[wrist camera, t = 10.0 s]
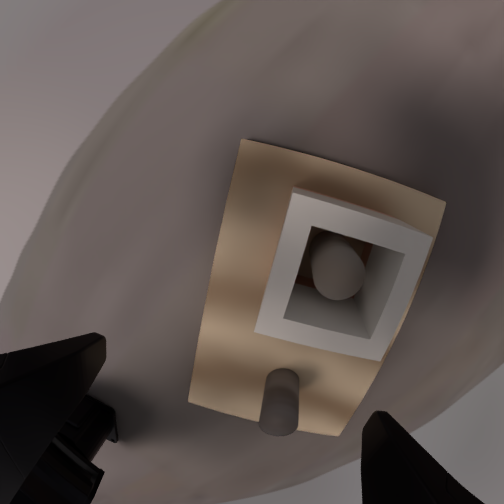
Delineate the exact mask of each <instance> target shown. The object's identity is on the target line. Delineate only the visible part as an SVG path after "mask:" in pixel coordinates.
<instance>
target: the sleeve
mask: <svg viewBox="0 0 504 504" xmlns="http://www.w3.org/2000/svg"><path fill="white" fill-rule="evenodd" d="M311 226H315V227H318V228H322V229H325V230H328V231H332V232H335V233H339V234H342V235H346V236H349V237H352V238H356V239H359V240H362V241H365V242H366V243H365V246H364V249H363V252H362V255H361V258H360V259H361V260H362V262H363V264H364V267H365V280H364V283H363V285H362V287H361V288H360V290H359V291H358V292H357V293H356V294H354V295H353V296H351V297H349V298H347V299H343V300H332V299H329V298H326V297H325V296H323V295H322V294H321V293H320V292H319V291H318V290H317V288H316V286H315V284H314V280H313V279H311V278H307V277H304V276H300V275H297V273H298V270H299V266H300V263H301V260H302V257H303V253H304V250H305V247H306V243H307V240H308V236H309V233H310V230H311ZM432 239H433V237H431V236H430V235H428V234H426V233H424V232H422V231H420V230H418V229H416V228H414V227H413V226H411V225H409V224H407V223H405V222H403V221H401V220H399V219H397V218H395V217H393V216H391V215H388V214H385V213H382V212H379V211H376V210H373V209H370V208H367V207H364V206H361V205H357V204H354V203H351V202H348V201H345V200H341V199H338V198H335V197H331V196H328V195H325V194H321V193H318V192H314V191H311V190H307V189H304V188H300V187H296V186H293V188H292V192H291V196H290V200H289V203H288V207H287V211H286V215H285V218H284V222H283V226H282V229H281V233H280V237H279V240H278V244H277V248H276V251H275V255H274V258H273V262H272V266H271V269H270V273H269V276H268V280H267V284H266V287H265V291H264V295H263V299H262V303H261V307H260V310H259V314H258V318H257V322H256V325H255V329H254V332H256V333H259V334H263V335H267V336H270V337H274V338H278V339H282V340H286V341H290V342H294V343H298V344H302V345H306V346H310V347H314V348H319V349H323V350H327V351H332V352H336V353H341V354H345V355H350V356H355V357H360V358H365V359H370V360H375V361H381V359H382V357H383V356H384V354H385V352H386V350H387V348H388V346H389V344H390V342H391V340H392V338H393V336H394V334H395V331H396V329H397V327H398V325H399V323H400V321H401V319H402V316H403V314H404V312H405V310H406V307H407V305H408V303H409V300H410V298H411V296H412V293H413V291H414V288H415V286H416V283H417V281H418V278H419V276H420V273H421V271H422V268H423V265H424V262H425V260H426V257H427V254H428V251H429V248H430V245H431V242H432Z"/></svg>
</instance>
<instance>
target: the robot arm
mask: <svg viewBox="0 0 504 504" xmlns="http://www.w3.org/2000/svg"><path fill="white" fill-rule="evenodd" d="M105 360H106V338H105V337H104V336H103V335H100V334H98V333H95V332H93V333H89V334H85V335H81V336H77V337H73V338H69V339H65V340H61V341H57V342H52V343H48V344H44V345H40V346H35V347H31V348H27V349H22V350H18V351H13V352H9V353H8V354H7V353H4V354H0V504H90V503H91V502H92V500H93V498H94V496H95V494H96V491H97V489H98V487H99V484H100V482H101V480H102V477H103V475H104V473H105V472H104V471H103V470H102V469H99V468H98V467H97V466H95V465H94V464H93V463H91V461H92V460H93V458H94V457H95V455H96V454H97V452H98V451H99V449H100V448H101V446H102V445H103V443H104V442H105V440H106V439H107V440H109V441H111V442H113V443H117V441H118V436H117V428H116V419H115V412H114V410H113V409H112V408H110V407H108V406H106V405H104V404H102V403H100V402H98V401H96V400H94V399H92V398H90V397H88V396H86V393H87V392H88V390H89V388H90V386H91V385H92V383H93V381H94V380H95V378H96V376H97V374H98V373H99V371H100V369H101V368H102V366H103V364H104V363H105ZM361 482H362V504H484V503H483V502H482V501H480V500H479V499H478V498H477V497H475V496H474V495H473V494H471V493H470V492H469V491H468V490H467V489H465V488H464V487H463V486H462V485H461V484H460V483H458V481H457V480H455V479H454V478H453V477H452V476H451V475H450V474H449V473H447V471H446V470H445V469H444V468H443V467H442V466H441V465H440V464H439V463H438V462H437V461H436V460H435V459H434V458H433V457H432V456H431V455H430V454H429V453H428V452H427V451H426V450H425V449H424V448H423V447H422V446H421V445H420V444H419V443H418V442H417V441H416V440H415V439H414V438H413V437H412V436H411V435H410V434H409V433H408V432H407V431H406V430H405V429H404V428H403V427H402V426H401V425H400V424H399V423H398V422H397V421H396V420H395V419H394V418H393V417H392V416H391V415H390V414H389V413H388V412H386V411H375V412H374V413H373V414H372V415H371V417H370V418H369V420H368V421H367V423H366V424H365V426H364V428H363V431H362V453H361Z"/></svg>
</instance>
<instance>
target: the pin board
mask: <svg viewBox="0 0 504 504" xmlns="http://www.w3.org/2000/svg"><path fill="white" fill-rule="evenodd" d="M293 186H296V187H300V188H304V189H307V190H311V191H314V192H318V193H321V194H325V195H328V196H331V197H335V198H338V199H341V200H345V201H348V202H351V203H354V204H357V205H361V206H364V207H367V208H370V209H373V210H376V211H379V212H382V213H385V214H388V215H391V216H393V217H395V218H397V219H399V220H401V221H403V222H405V223H407V224H409V225H411V226H413V227H414V228H416V229H418V230H420V231H422V232H424V233H426V234H428V235H430V236H431V237H433V239H432V242H431V245H430V248H429V251H428V254H427V257H426V260H425V262H424V265H423V268H422V271H421V273H420V276H419V278H418V281H417V283H416V286H415V288H414V291H413V293H412V296H411V298H410V300H409V303H408V305H407V307H406V310H405V312H404V314H403V316H402V319H401V321H400V323H399V325H398V327H397V329H396V331H395V334H394V336H393V338H392V340H391V342H390V344H389V346H388V348H387V350H386V352H385V354H384V356H383V357H382V359H381V361H375V360H370V359H365V358H360V357H355V356H350V355H345V354H341V353H336V352H332V351H327V350H323V349H319V348H314V347H310V346H306V345H302V344H298V343H294V342H290V341H286V340H282V339H278V338H274V337H270V336H267V335H263V334H259V333H256V332H254V329H255V325H256V322H257V318H258V314H259V310H260V307H261V303H262V299H263V295H264V291H265V287H266V284H267V280H268V276H269V273H270V269H271V266H272V262H273V258H274V255H275V251H276V248H277V244H278V240H279V237H280V233H281V229H282V226H283V222H284V218H285V215H286V211H287V207H288V203H289V200H290V196H291V192H292V188H293ZM446 203H447V202H445V201H442V200H440V199H438V198H435V197H433V196H430V195H428V194H425V193H423V192H420V191H418V190H415V189H412V188H410V187H407V186H404V185H402V184H399V183H396V182H394V181H391V180H388V179H385V178H382V177H379V176H376V175H374V174H371V173H368V172H365V171H361V170H358V169H355V168H352V167H349V166H346V165H342V164H339V163H336V162H333V161H329V160H326V159H322V158H319V157H315V156H312V155H308V154H304V153H300V152H297V151H293V150H289V149H285V148H281V147H277V146H273V145H268V144H264V143H260V142H255V141H251V140H246V139H241V142H240V146H239V151H238V155H237V159H236V163H235V167H234V172H233V176H232V180H231V184H230V189H229V193H228V198H227V202H226V206H225V211H224V215H223V220H222V225H221V229H220V234H219V238H218V243H217V248H216V253H215V257H214V262H213V267H212V272H211V277H210V282H209V287H208V292H207V297H206V302H205V307H204V312H203V318H202V323H201V328H200V334H199V339H198V345H197V350H196V356H195V362H194V367H193V373H192V379H191V385H190V391H189V397H188V402H190V403H193V404H196V405H199V406H203V407H206V408H209V409H212V410H216V411H219V412H223V413H226V414H230V415H233V416H237V417H241V418H245V419H249V420H253V421H257V422H259V427H260V428H261V430H262V431H264V432H265V433H267V434H270V435H273V436H285V435H289V434H291V433H293V432H294V431H295V430H300V431H306V432H312V433H318V434H325V435H332V436H339V435H340V433H341V432H342V430H343V429H344V427H345V426H346V424H347V423H348V421H349V420H350V418H351V417H352V415H353V414H354V412H355V410H356V409H357V407H358V406H359V404H360V402H361V401H362V399H363V397H364V396H365V394H366V392H367V391H368V389H369V387H370V386H371V384H372V382H373V380H374V379H375V377H376V375H377V373H378V371H379V369H380V368H381V366H382V364H383V362H384V360H385V358H386V356H387V354H388V352H389V350H390V349H391V347H392V345H393V343H394V340H395V338H396V336H397V334H398V332H399V330H400V328H401V326H402V324H403V322H404V319H405V317H406V315H407V313H408V310H409V308H410V306H411V303H412V301H413V299H414V296H415V294H416V291H417V289H418V286H419V284H420V281H421V279H422V276H423V274H424V271H425V268H426V266H427V263H428V260H429V257H430V254H431V252H432V249H433V246H434V243H435V240H436V236H437V233H438V230H439V227H440V224H441V220H442V217H443V213H444V210H445V206H446ZM365 243H366V242H365V241H362V240H359V239H356V238H352V237H349V236H346V235H342V234H339V233H335V232H332V231H328V230H325V229H322V228H318V227H315V226H311V230H310V233H309V236H308V240H307V243H306V247H305V250H304V253H303V257H302V260H301V263H300V266H299V270H298V273H297V275H300V276H304V277H307V278H311V279H313V280H314V284H315V286H316V288H317V290H318V291H319V292H320V293H321V294H322V295H323V296H325V297H326V298H329V299H332V300H343V299H347V298H349V297H351V296H353V295H354V294H356V293H357V292H358V291H359V290H360V288H361V287H362V285H363V283H364V280H365V267H364V264H363V262H362V260H361V259H360V258H361V255H362V252H363V249H364V246H365Z"/></svg>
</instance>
